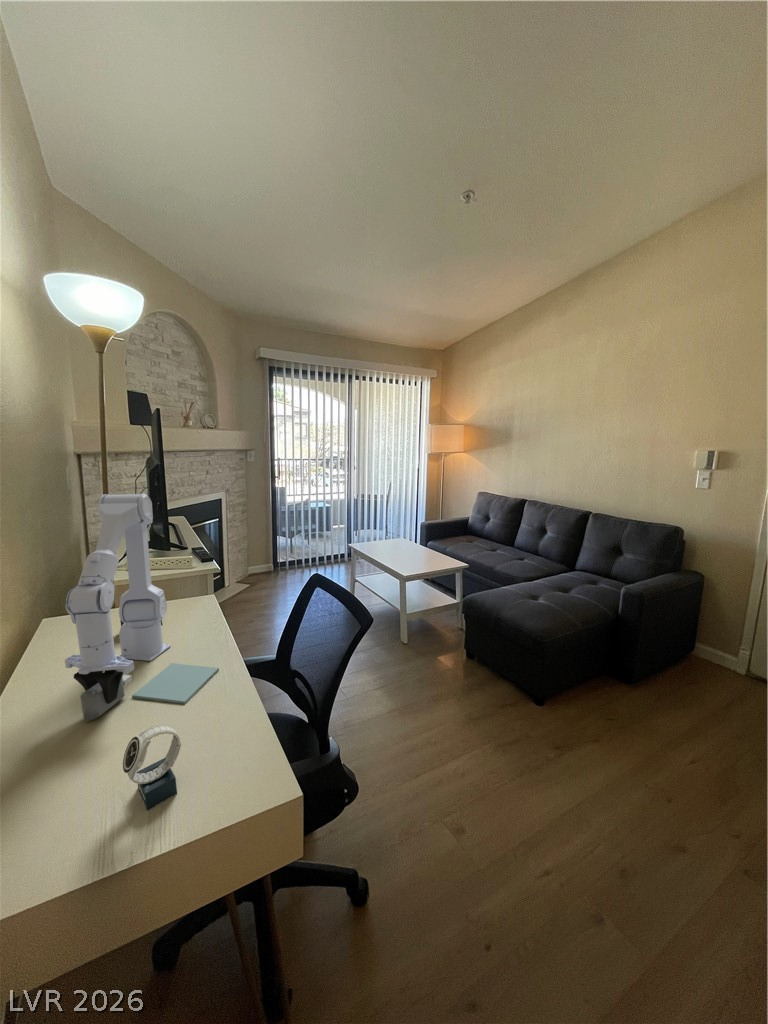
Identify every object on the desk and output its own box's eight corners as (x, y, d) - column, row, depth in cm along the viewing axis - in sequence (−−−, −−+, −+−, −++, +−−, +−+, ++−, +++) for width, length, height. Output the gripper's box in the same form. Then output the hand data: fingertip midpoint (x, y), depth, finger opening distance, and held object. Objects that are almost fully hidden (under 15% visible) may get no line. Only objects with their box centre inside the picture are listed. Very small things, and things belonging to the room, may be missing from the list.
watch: (124, 795, 63) (116, 736, 61) (177, 767, 69) (172, 711, 67) (132, 819, 59) (124, 756, 57) (188, 787, 65) (183, 728, 63)
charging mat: (132, 697, 87) (132, 695, 87) (172, 665, 100) (171, 663, 100) (185, 703, 86) (185, 701, 85) (218, 670, 98) (218, 667, 98)
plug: (79, 719, 79) (76, 697, 78) (123, 686, 90) (120, 666, 89) (92, 721, 79) (89, 699, 78) (135, 687, 89) (132, 668, 89)
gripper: (46, 647, 78) (56, 708, 80) (111, 654, 76) (119, 716, 78) (79, 630, 85) (87, 687, 87) (138, 636, 83) (145, 694, 85)
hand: (104, 699), depth 83 cm, fingers closed on plug, 3 cm apart
